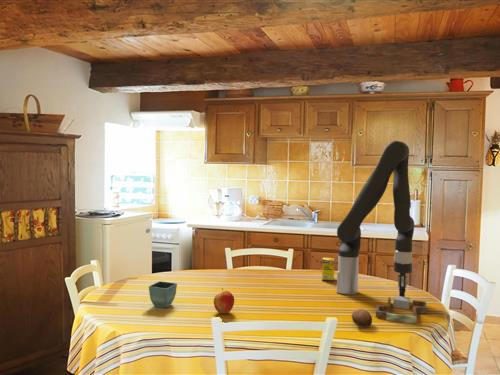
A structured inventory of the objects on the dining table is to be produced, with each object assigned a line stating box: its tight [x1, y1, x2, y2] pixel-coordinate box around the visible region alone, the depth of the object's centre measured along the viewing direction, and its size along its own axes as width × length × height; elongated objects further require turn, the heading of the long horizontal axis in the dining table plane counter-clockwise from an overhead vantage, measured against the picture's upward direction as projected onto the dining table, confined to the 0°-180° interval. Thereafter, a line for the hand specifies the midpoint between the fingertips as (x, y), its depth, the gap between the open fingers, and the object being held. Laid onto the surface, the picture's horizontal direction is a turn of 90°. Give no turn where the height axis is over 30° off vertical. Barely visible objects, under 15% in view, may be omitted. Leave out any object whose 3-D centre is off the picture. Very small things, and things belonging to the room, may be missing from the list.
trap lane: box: [375, 297, 428, 325], centre depth 180 cm, size 19×22×2 cm
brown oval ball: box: [351, 308, 373, 329], centre depth 166 cm, size 8×8×6 cm
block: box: [392, 295, 411, 310], centre depth 189 cm, size 6×6×4 cm
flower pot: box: [148, 280, 178, 309], centre depth 185 cm, size 9×9×9 cm
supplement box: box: [321, 257, 335, 282], centre depth 229 cm, size 6×6×11 cm
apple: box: [213, 287, 235, 315], centre depth 177 cm, size 8×8×10 cm
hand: (401, 299), depth 196 cm, fingers closed
